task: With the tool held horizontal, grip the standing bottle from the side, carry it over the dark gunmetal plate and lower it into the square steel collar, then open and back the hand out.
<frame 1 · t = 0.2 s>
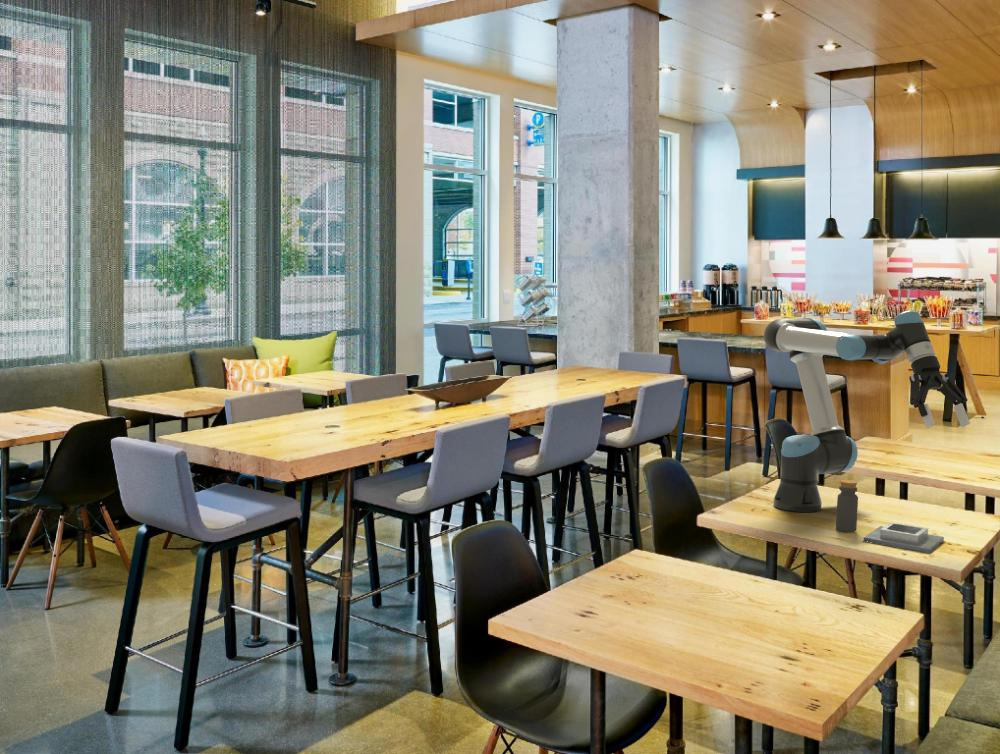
hand: (948, 426, 282), 34 cm above the table, tool tilted 30°, fingers open, 13 cm apart
bottle: (845, 530, 295), on the table
collar plate: (903, 541, 284), on the table
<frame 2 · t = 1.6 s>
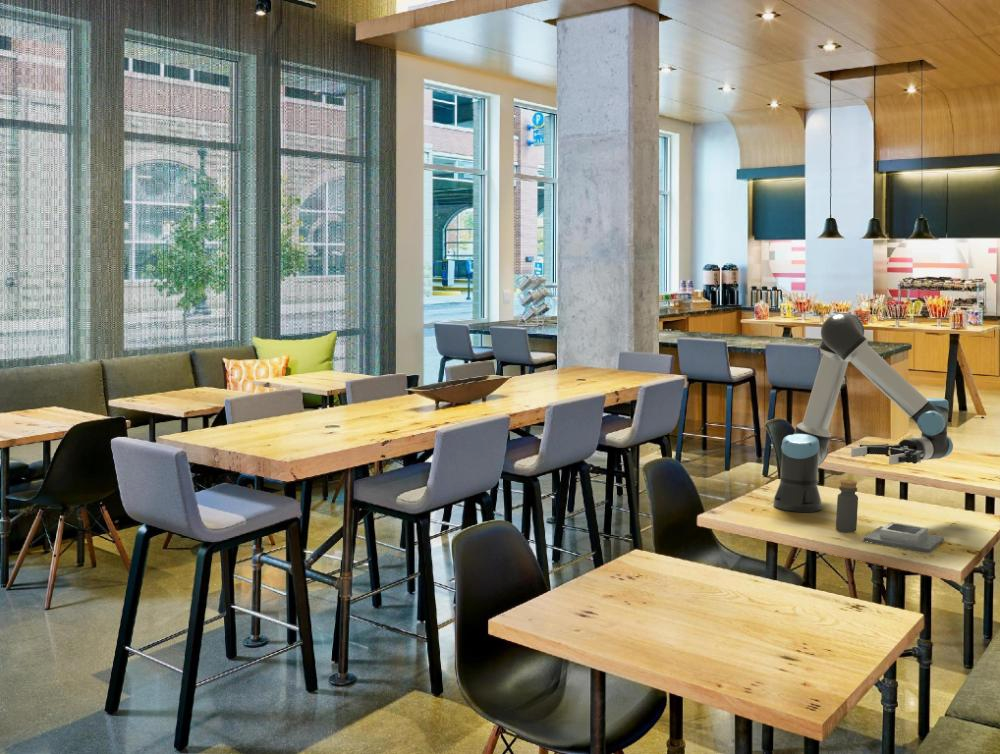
hand: (870, 456, 298), 22 cm above the table, tool horizontal, fingers open, 13 cm apart
nothing on the table moved.
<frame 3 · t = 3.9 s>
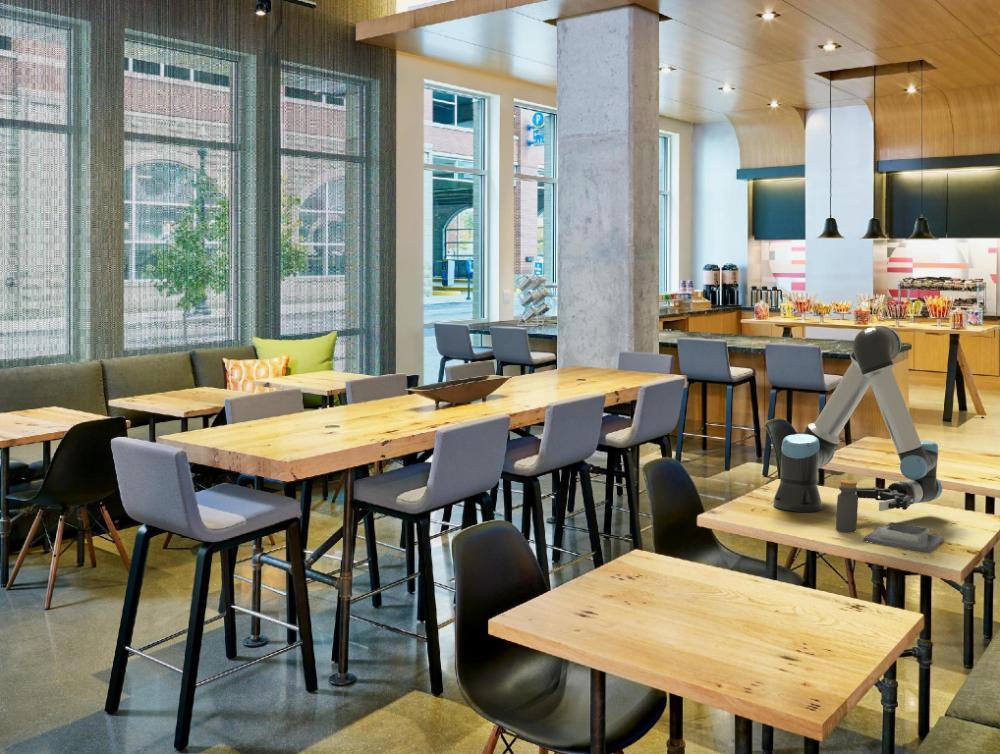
hand: (860, 501, 296), 8 cm above the table, tool horizontal, fingers open, 13 cm apart
nothing on the table moved.
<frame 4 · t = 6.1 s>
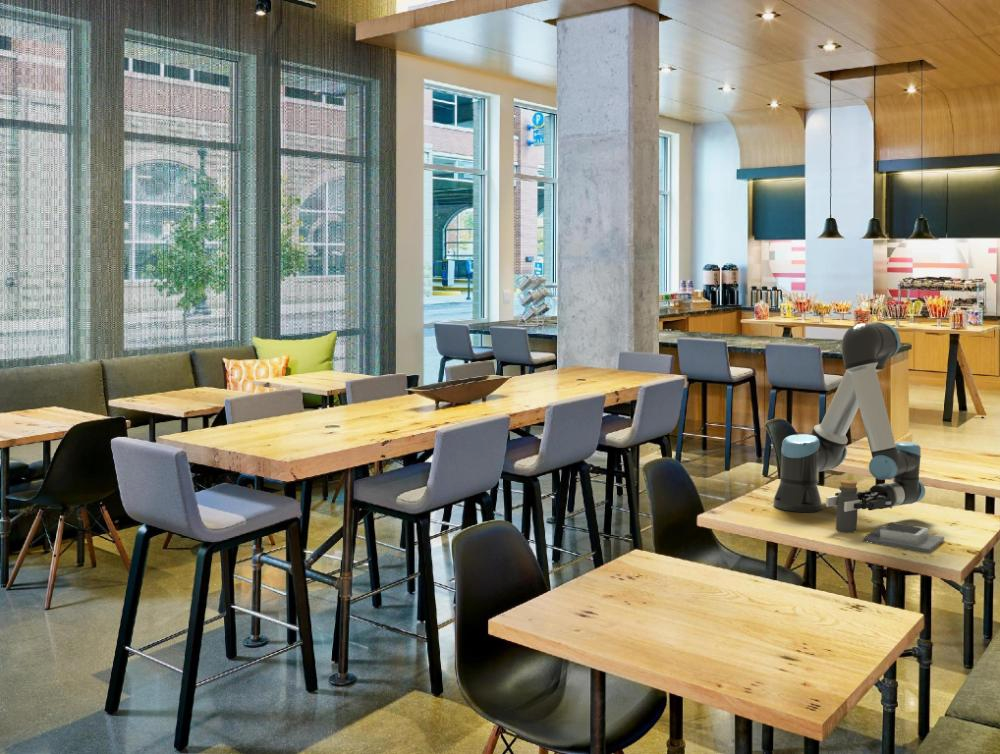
hand: (836, 504, 292), 9 cm above the table, tool horizontal, fingers closed on bottle, 6 cm apart
bottle: (845, 530, 295), on the table, touching gripper
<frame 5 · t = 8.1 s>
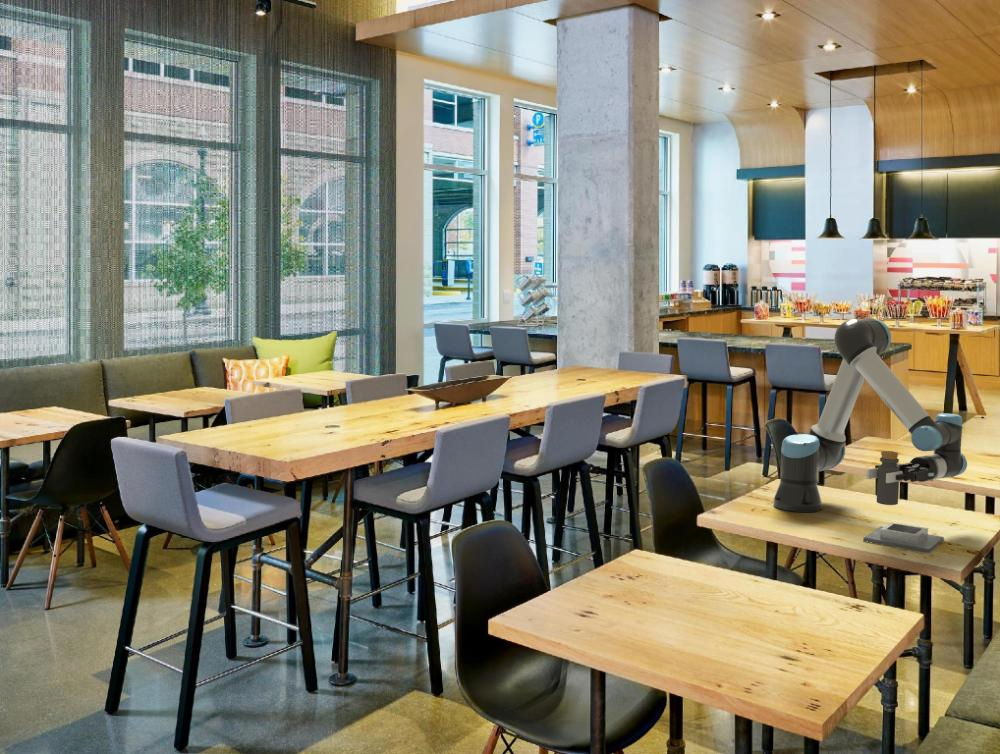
hand: (877, 476, 283), 19 cm above the table, tool horizontal, fingers closed on bottle, 6 cm apart
bottle: (887, 503, 286), point 10 cm above the table, touching gripper
when the fingers open (11 cm above the table, at t = 10.4 s): bottle drops 1 cm, resting on collar plate.
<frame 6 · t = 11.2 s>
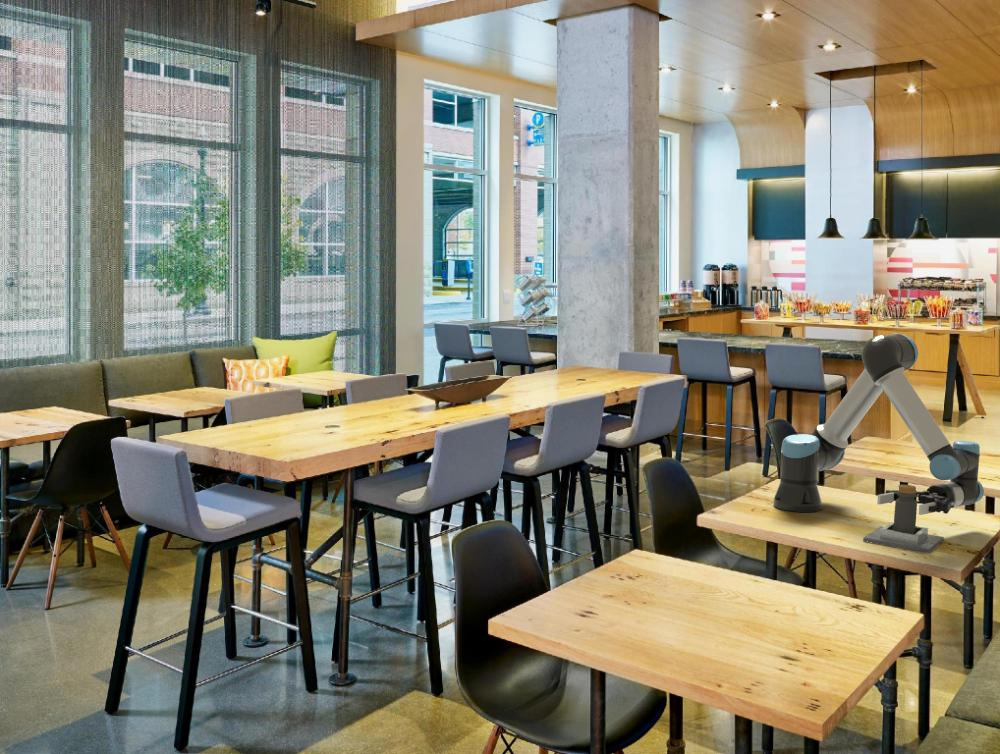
hand: (898, 504, 281), 11 cm above the table, tool horizontal, fingers open, 13 cm apart
bottle: (903, 537, 284), point 1 cm above the table, touching collar plate
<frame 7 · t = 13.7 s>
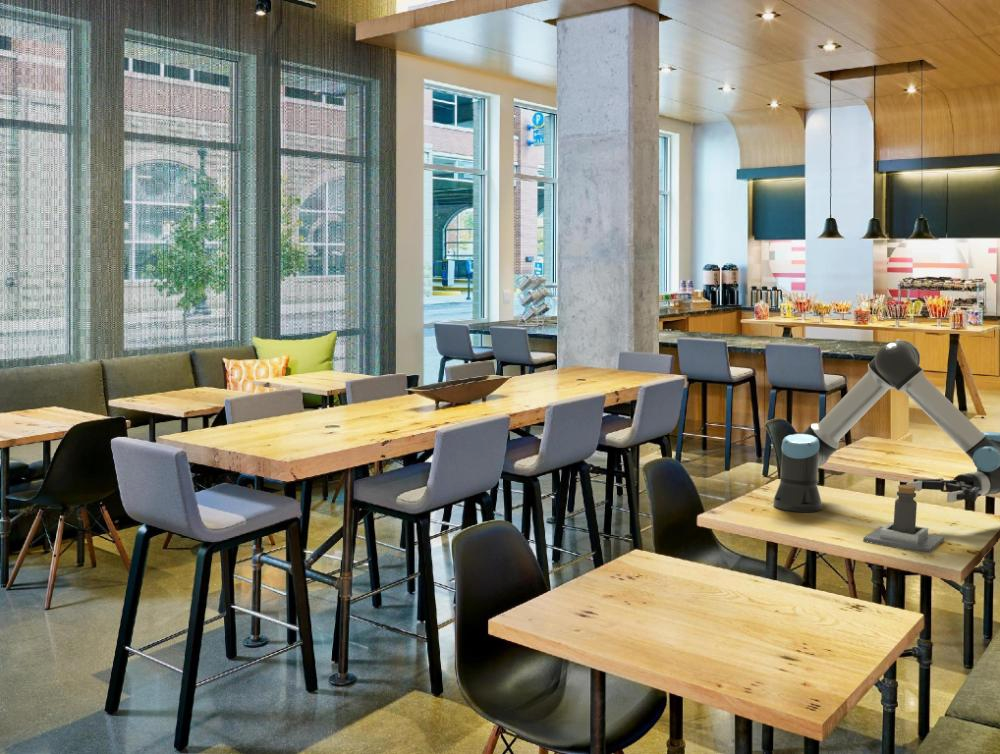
hand: (927, 492, 289), 13 cm above the table, tool horizontal, fingers open, 13 cm apart
nothing on the table moved.
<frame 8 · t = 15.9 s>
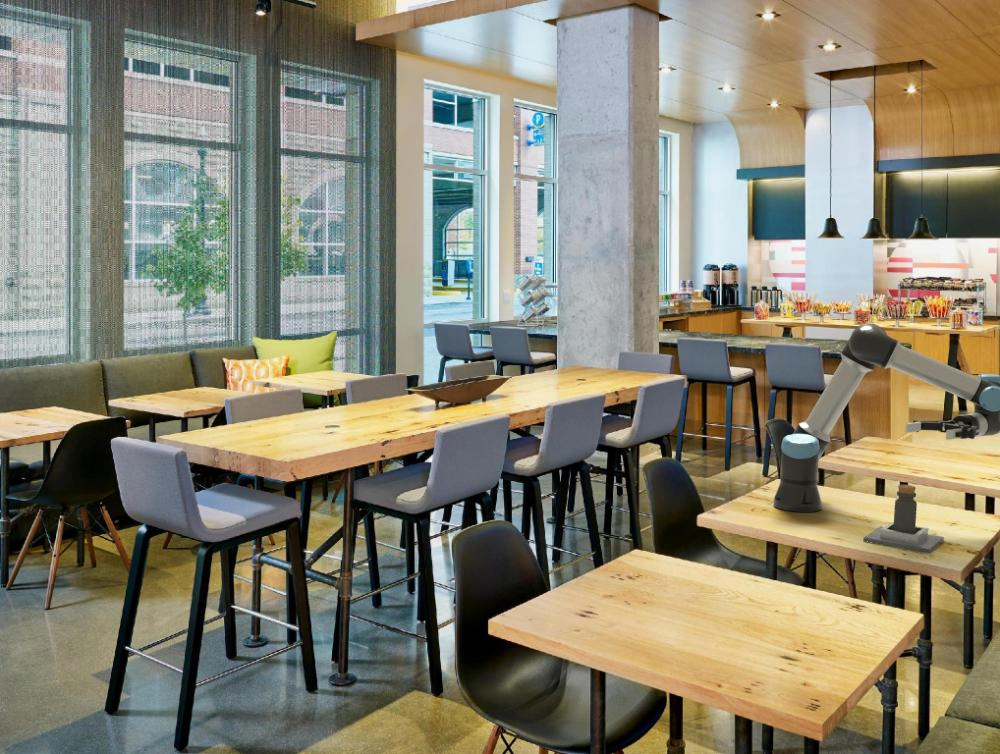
hand: (926, 431, 295), 30 cm above the table, tool horizontal, fingers open, 13 cm apart
nothing on the table moved.
at the end: bottle 0.0 cm off-centre on the collar plate, point 1.0 cm above the collar plate's base; bottle tilted 0°; the gripper is holding nothing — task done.
